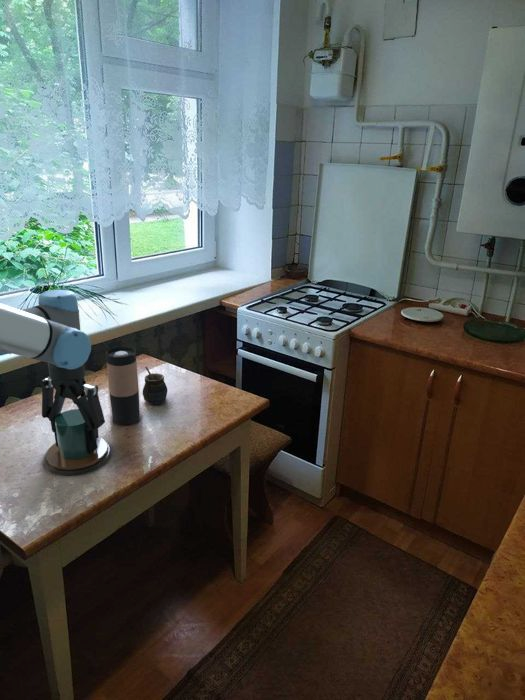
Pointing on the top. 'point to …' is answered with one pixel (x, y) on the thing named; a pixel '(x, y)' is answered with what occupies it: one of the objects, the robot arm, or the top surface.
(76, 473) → the base
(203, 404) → the top surface
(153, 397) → the mate gourd
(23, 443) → the top surface
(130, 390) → the travel mug
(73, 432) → the tea cup
